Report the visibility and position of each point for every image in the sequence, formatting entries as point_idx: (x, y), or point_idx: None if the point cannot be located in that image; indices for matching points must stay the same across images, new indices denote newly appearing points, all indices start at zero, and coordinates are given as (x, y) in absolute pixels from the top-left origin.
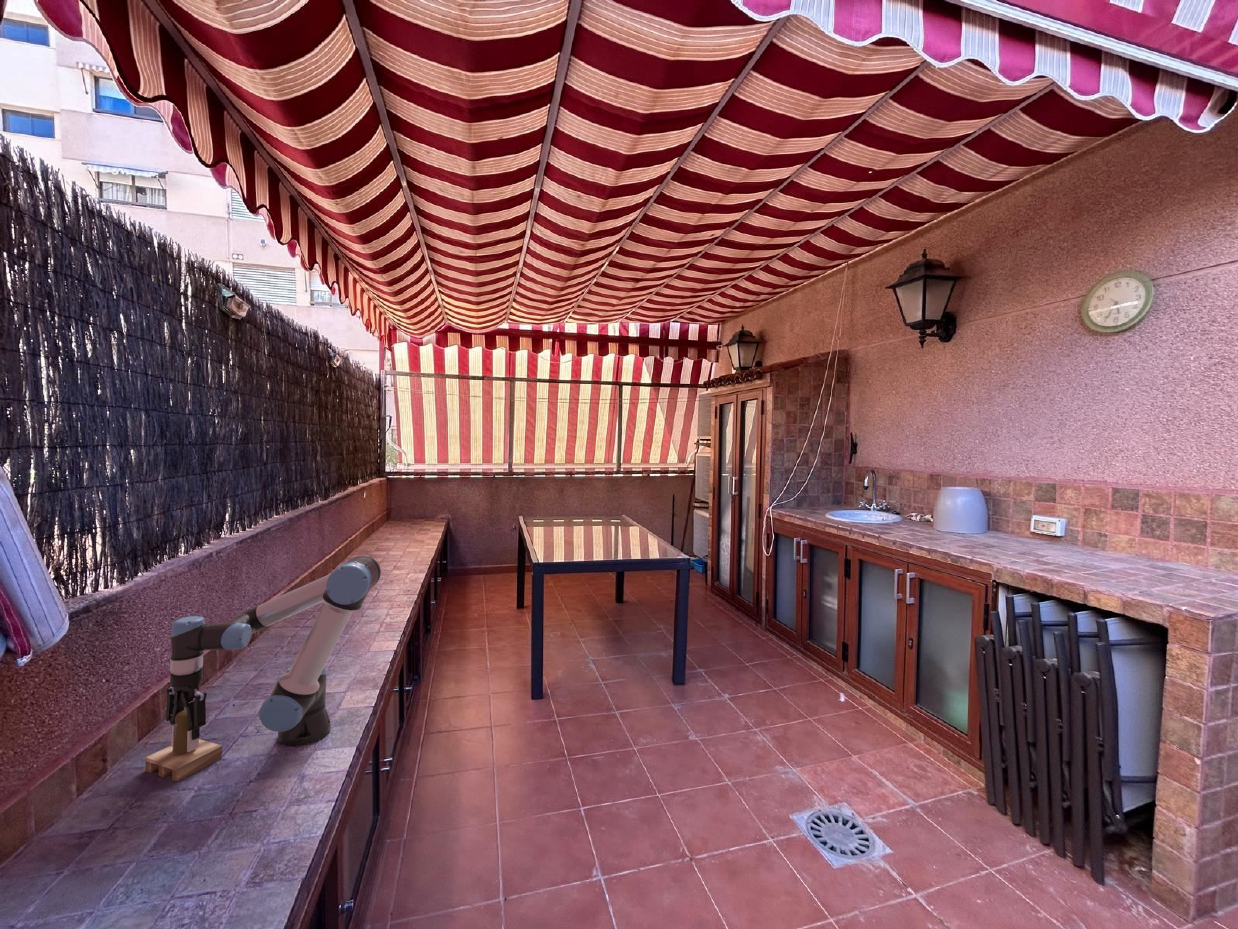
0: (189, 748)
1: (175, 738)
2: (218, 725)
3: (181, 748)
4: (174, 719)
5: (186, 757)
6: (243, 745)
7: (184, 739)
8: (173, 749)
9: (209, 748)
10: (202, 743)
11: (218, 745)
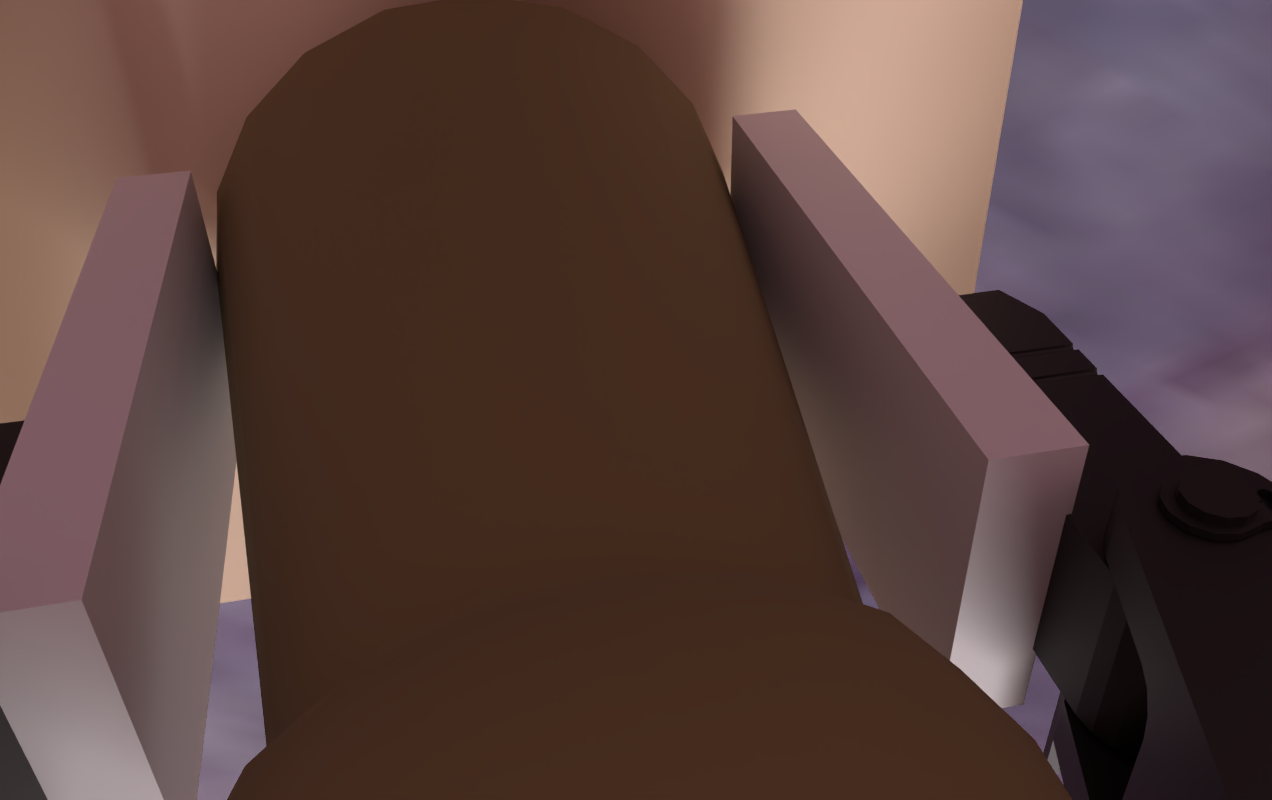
0: (106, 236)
1: (572, 202)
2: (1040, 738)
3: (288, 131)
4: (1159, 677)
5: (118, 83)
6: (245, 730)
7: (268, 314)
8: (541, 38)
9: None
10: None
11: None
